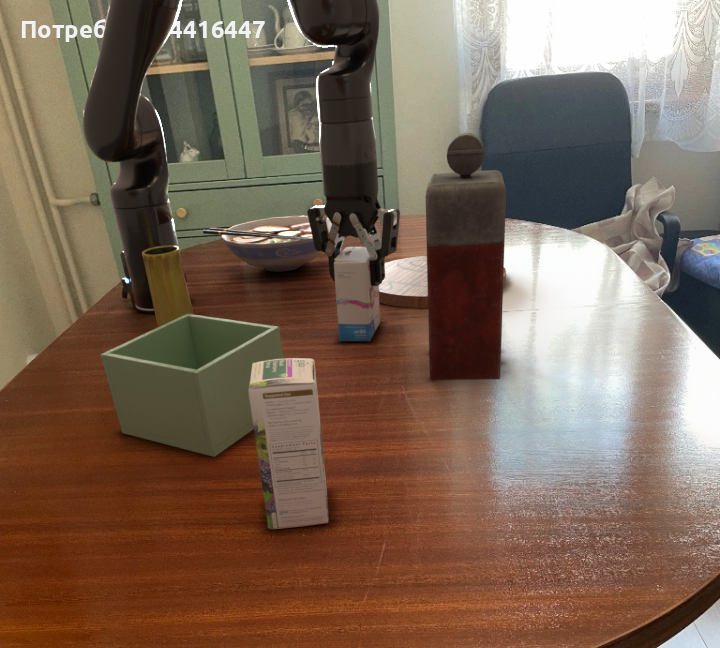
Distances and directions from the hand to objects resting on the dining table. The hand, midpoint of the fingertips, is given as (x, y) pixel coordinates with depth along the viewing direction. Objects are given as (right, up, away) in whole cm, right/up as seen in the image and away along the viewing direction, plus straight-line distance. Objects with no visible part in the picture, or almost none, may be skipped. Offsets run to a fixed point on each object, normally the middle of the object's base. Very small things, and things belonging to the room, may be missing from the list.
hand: (357, 282), depth 106 cm
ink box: (+1, -7, +4) cm, 8 cm away
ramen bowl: (-15, +14, +39) cm, 44 cm away
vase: (-27, -8, +5) cm, 29 cm away
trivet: (+13, +5, +22) cm, 26 cm away
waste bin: (-18, -21, -17) cm, 33 cm away
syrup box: (-5, -32, -36) cm, 49 cm away
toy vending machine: (+14, -13, -8) cm, 21 cm away
